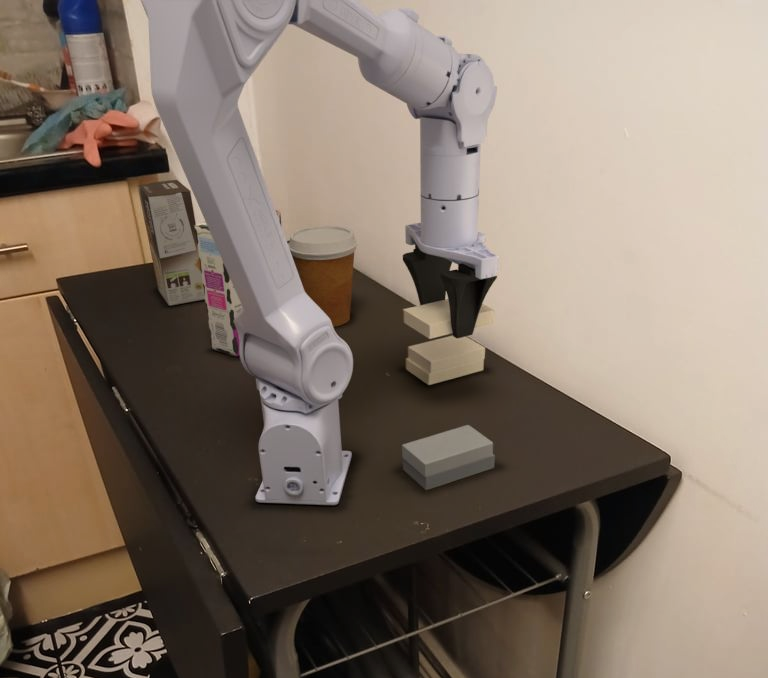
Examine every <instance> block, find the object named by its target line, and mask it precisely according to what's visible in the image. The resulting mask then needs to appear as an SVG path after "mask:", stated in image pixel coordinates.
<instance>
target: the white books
mask: <svg viewBox="0 0 768 678" xmlns="http://www.w3.org/2000/svg"><path fill="white" fill-rule="evenodd" d="M485 359H486V347H485V346H483V345H482V344H481V343H478V342H477V341H475V340H473V339H471V338H469V336H466V337H462V338H455V337H453V335H449V336H445V337H441V338H437V339H433V340H429V341H425V342H420V343H417V344H412V345H409V346H407V357H405V359H404V360H405V363H404V364H405V370H406V371H408V372H409V373H410V374H412V375H413V376H414V377H416V378H418V379H419V380H420V381H422V382H423V383H425V384H426V385H427V386H432V385H435V384H438V383H442V382H445V381H449V380H453V379H456V378H460V377H463V376H467V375H471V374H474V373H478V372H482V371H484V368H485V367H484V365H485Z"/></svg>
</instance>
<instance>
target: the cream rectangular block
mask: <svg viewBox="0 0 768 678" xmlns="http://www.w3.org/2000/svg"><path fill="white" fill-rule="evenodd" d="M402 322H403V324H405V325H407V326H408V327H410V328H411V329H413V330H415V332H417V333H419V334H421V335H422V336H424V337H426V338H427V339H429V340H432V339H435V338H439V337H443V336H447V335H451V334H452V335H453V332H452V326H451V317H450V306H449V300H448V298H447V299H446V298H445V300H441V301H437V302H433V303H428V304H424V305H420V304H419V305H416V306H412V307H406V308H403V309H402ZM494 322H495V309H494V308H492V307H490V306H488V305H486V304H484V303H482V306H481V308H480V311H479V314H478V318H477V321H476V325H475V328H476V329H477V328H479V327H484V326H488V325H493V324H494ZM475 328H474V329H475Z"/></svg>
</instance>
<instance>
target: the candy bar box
mask: <svg viewBox="0 0 768 678" xmlns="http://www.w3.org/2000/svg"><path fill="white" fill-rule="evenodd" d="M275 211H276V213H277V216H278V219H279V222H280V224H281V225H282V215H281V211H280V210H277V209H275ZM194 227H195V233H196V240H197V247H198V253H199V261H200V268H201V275H202V281H203V287H204V294H205V300H204V302H205V308H206V315H207V322H208V328H209V336H210V342H211V349H212V350H213V351H216V352H220V353H223V354H226V355H230V356H232V357H240V354H239V341H240V340H239V334H238V331H237V329H236V326H235V324H234V319H235V317H236V316H237V314H238V313H239V311H240V310H241V309H242V304H241V302H240V300H239V297H238V295H237V293H236V290H235V288H234V286H233V284H232V281H231V279H230V277H229V274H228V272H227V270H226V267H225V265H224V263H223V260H222V258H221V256H220V254H219V251H218V249H217V247H216V244H215V242H214V240H213V237H212V235H211V233H210V230H209V228H208V226H207V224H206V221H202V222H199V223H196V225H194Z"/></svg>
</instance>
